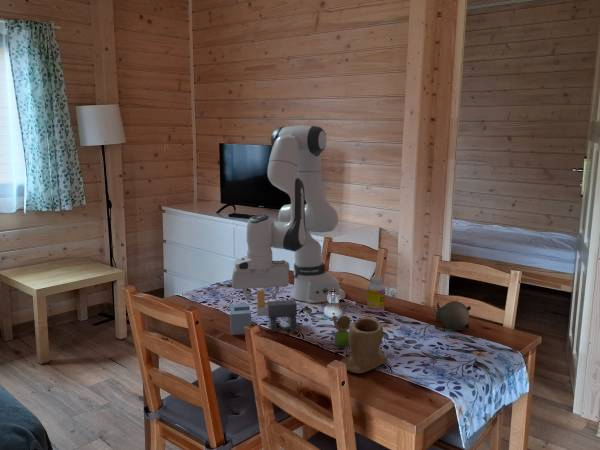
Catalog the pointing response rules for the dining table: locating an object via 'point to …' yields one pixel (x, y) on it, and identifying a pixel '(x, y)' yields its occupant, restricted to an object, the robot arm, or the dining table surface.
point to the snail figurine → (342, 330)
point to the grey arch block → (282, 313)
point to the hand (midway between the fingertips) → (260, 299)
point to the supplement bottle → (376, 295)
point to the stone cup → (365, 346)
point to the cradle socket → (239, 318)
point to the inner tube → (261, 304)
